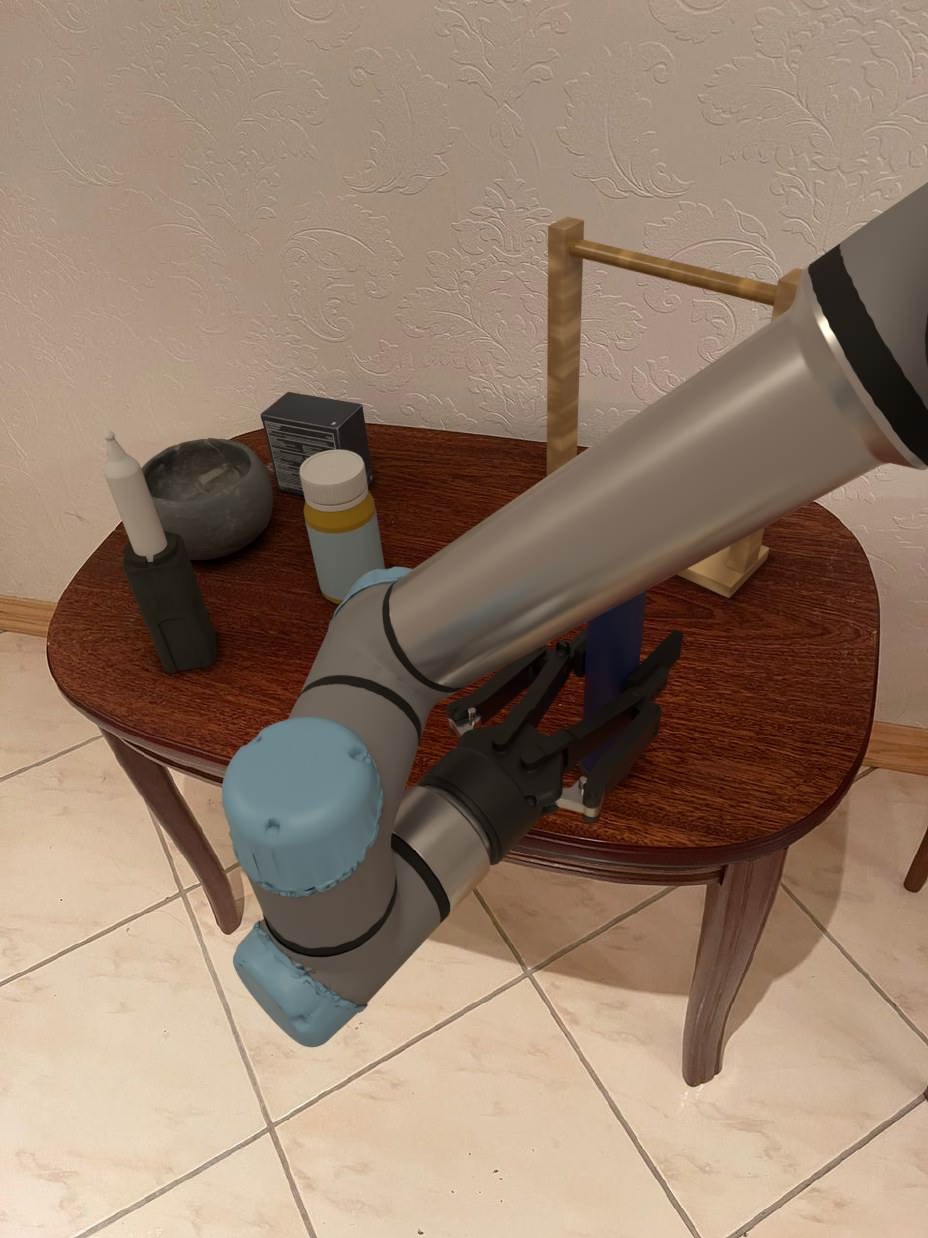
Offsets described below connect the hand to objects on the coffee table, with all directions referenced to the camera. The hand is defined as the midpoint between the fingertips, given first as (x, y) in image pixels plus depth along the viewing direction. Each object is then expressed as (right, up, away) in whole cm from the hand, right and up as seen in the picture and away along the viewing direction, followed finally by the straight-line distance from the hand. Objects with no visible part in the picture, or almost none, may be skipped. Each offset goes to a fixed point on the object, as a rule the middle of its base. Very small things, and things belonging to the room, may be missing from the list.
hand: (650, 631), depth 70 cm
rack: (+5, +10, +28) cm, 30 cm away
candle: (-42, -3, +18) cm, 46 cm away
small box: (-32, +17, +39) cm, 53 cm away
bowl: (-43, +10, +31) cm, 54 cm away
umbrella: (-1, -10, +6) cm, 12 cm away
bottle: (-26, +4, +24) cm, 36 cm away
